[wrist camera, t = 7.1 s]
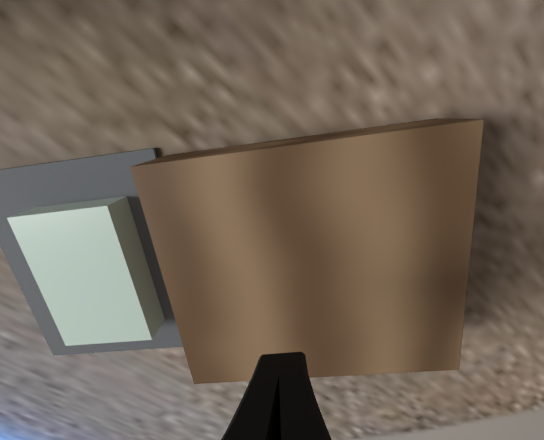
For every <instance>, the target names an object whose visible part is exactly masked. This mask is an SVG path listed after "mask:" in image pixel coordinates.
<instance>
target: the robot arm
mask: <svg viewBox="0 0 544 440" xmlns="http://www.w3.org/2000/svg"><path fill="white" fill-rule="evenodd" d="M221 440H331V437H330V435H329V432H328V430H327V428H326V425H325V423H324V420H323V417H322V415H321V412H320V409H319V407H318V404H317V401H316V398H315V395H314V392H313V389H312V386H311V382H310V379H309V375H308V369H307V362H306V356H305V354H304V353H303V352H289V353H276V354H262V355H261V356H260V357H259V360H258V362H257V365H256V368H255V370H254V373H253V375H252V378H251V380H250V382H249V385H248V387H247V389H246V391H245V394H244V396H243V398H242V400H241V402H240V404H239V406H238V408H237V410H236V412H235V414H234V417H233V419H232V421H231V423H230V425H229V427H228V428H227V430H226V432H225V434H224V436H223V438H222V439H221Z"/></svg>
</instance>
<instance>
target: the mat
mask: <svg viewBox="0 0 544 440" xmlns="http://www.w3.org/2000/svg"><path fill="white" fill-rule="evenodd" d="M157 158H158V156H157V152H156V148H152V149H145V150H137V151H130V152H123V153H116V154H109V155H102V156H94V157H87V158H80V159H73V160H66V161H59V162H52V163H44V164H37V165H30V166H23V167H16V168H9V169H1V170H0V246H1V248H2V250H3V252H4V255H5V257H6V259H7V261H8V263H9V265H10V267H11V269H12V271H13V273H14V275H15V277H16V279H17V281H18V283H19V285H20V287H21V290H22V292H23V294H24V296H25V298H26V300H27V302H28V304H29V306H30V308H31V310H32V312H33V314H34V316H35V318H36V320H37V322H38V325H39V327H40V329H41V331H42V333H43V335H44V337H45V339H46V341H47V343H48V345H49V347H50V349H51V351H52V353H53V355H65V354H80V353H95V352H110V351H124V350H139V349H154V348H169V347H183V344H182V340H181V337H180V334H179V330H178V327H177V324H176V320H175V317H174V313H173V310H172V307H171V303H170V300H169V296H168V293H167V290H166V286H165V283H164V280H163V276H162V273H161V269H160V266H159V263H158V259H157V256H156V253H155V249H154V246H153V242H152V239H151V236H150V232H149V229H148V225H147V222H146V219H145V215H144V212H143V209H142V205H141V202H140V198H139V195H138V192H137V188H136V185H135V181H134V178H133V175H132V171H131V168H130V167H131V166H134V165H138V164H141V163H144V162H147V161H150V160H153V159H157ZM124 196H127V199H128V202H129V205H130V209H131V212H132V215H133V218H134V222H135V225H136V228H137V231H138V235H139V238H140V241H141V244H142V247H143V251H144V254H145V257H146V260H147V264H148V267H149V270H150V273H151V277H152V280H153V283H154V286H155V289H156V293H157V296H158V299H159V302H160V306H161V309H162V312H163V315H164V318H165V320H164V321H163V323H162V324H161V326H160V328H159V329H158V331H157V333H156V334H155V336H154V337H153V339H152V340H142V341H128V342H114V343H100V344H85V345H71V346H66V345H65V343H64V341H63V339H62V337H61V334H60V332H59V330H58V328H57V326H56V324H55V321H54V319H53V317H52V315H51V313H50V311H49V308H48V306H47V304H46V302H45V300H44V298H43V295H42V293H41V291H40V289H39V287H38V285H37V282H36V280H35V278H34V276H33V274H32V272H31V269H30V267H29V265H28V263H27V261H26V259H25V256H24V254H23V252H22V250H21V248H20V246H19V243H18V241H17V239H16V237H15V235H14V233H13V230H12V228H11V226H10V224H9V222H8V220H7V218H8V217H11V216H13V215H16V214H19V213H22V212H25V211H27V210H30V209H33V208H36V207H43V206H51V205H59V204H67V203H76V202H84V201H92V200H100V199H108V198H116V197H124Z"/></svg>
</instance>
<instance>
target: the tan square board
mask: <svg viewBox="0 0 544 440" xmlns="http://www.w3.org/2000/svg"><path fill="white" fill-rule="evenodd" d="M483 122H484V119H430V120H423V121H416V122H408V123H401V124H394V125H386V126H379V127H372V128H364V129H357V130H350V131H342V132H335V133H328V134H320V135H313V136H306V137H298V138H291V139H284V140H276V141H269V142H262V143H254V144H247V145H240V146H232V147H225V148H218V149H211V150H203V151H196V152H189V153H181V154H174V155H167V156H163V157H160V158H157V159H153V160H150V161H147V162H144V163H141V164H138V165H134V166H131V167H130V168H131V171H132V175H133V178H134V181H135V185H136V188H137V192H138V195H139V198H140V202H141V205H142V209H143V212H144V215H145V219H146V222H147V225H148V229H149V232H150V236H151V239H152V242H153V246H154V249H155V253H156V256H157V259H158V263H159V266H160V269H161V273H162V276H163V280H164V283H165V286H166V290H167V293H168V296H169V300H170V303H171V307H172V310H173V313H174V317H175V320H176V324H177V327H178V330H179V334H180V337H181V340H182V344H183V347H184V351H185V354H186V357H187V361H188V364H189V368H190V371H191V374H192V378H193V381H194V384H200V383H219V382H237V381H250V380H251V378H252V375H253V373H254V370H255V368H256V365H257V362H258V360H259V357H260V356H261V355H262V354H276V353H289V352H303V353H304V354H305V356H306V362H307V369H308V375H309V378H311V377H330V376H348V375H367V374H385V373H404V372H422V371H441V370H459V366H460V356H461V346H462V336H463V326H464V315H465V305H466V295H467V285H468V275H469V265H470V255H471V244H472V234H473V224H474V214H475V204H476V194H477V183H478V173H479V163H480V153H481V143H482V133H483Z"/></svg>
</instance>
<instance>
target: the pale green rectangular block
mask: <svg viewBox="0 0 544 440" xmlns="http://www.w3.org/2000/svg"><path fill="white" fill-rule="evenodd" d="M7 220H8V222H9V224H10V226H11V228H12V230H13V233H14V235H15V237H16V239H17V241H18V243H19V246H20V248H21V250H22V252H23V254H24V256H25V259H26V261H27V263H28V265H29V267H30V269H31V272H32V274H33V276H34V278H35V280H36V282H37V285H38V287H39V289H40V291H41V293H42V295H43V298H44V300H45V302H46V304H47V306H48V308H49V311H50V313H51V315H52V317H53V319H54V321H55V324H56V326H57V328H58V330H59V332H60V334H61V337H62V339H63V341H64V343H65V345H66V346H71V345H85V344H100V343H114V342H128V341H142V340H152V339H153V337H154V336H155V334H156V333H157V331H158V329H159V328H160V326H161V324H162V323H163V321H164V320H165V318H164V315H163V312H162V309H161V306H160V302H159V299H158V296H157V293H156V289H155V286H154V283H153V280H152V277H151V273H150V270H149V267H148V264H147V260H146V257H145V254H144V251H143V247H142V244H141V241H140V238H139V235H138V231H137V228H136V225H135V222H134V218H133V215H132V212H131V209H130V205H129V202H128V199H127V196H124V197H116V198H108V199H100V200H92V201H84V202H76V203H67V204H59V205H51V206H43V207H36V208H33V209H30V210H27V211H25V212H22V213H19V214H16V215H13V216H11V217H8V218H7Z"/></svg>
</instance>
